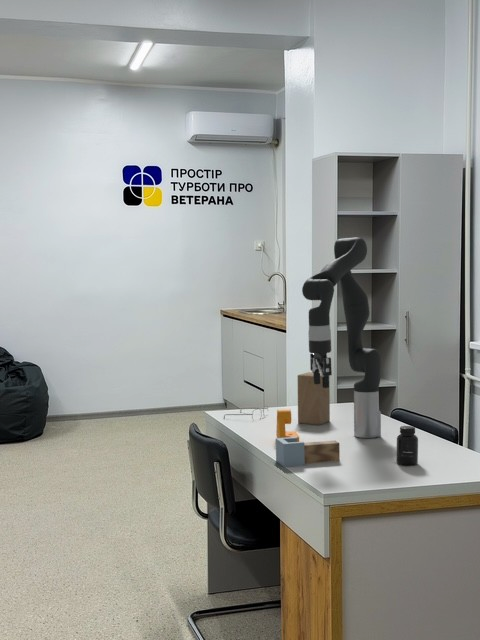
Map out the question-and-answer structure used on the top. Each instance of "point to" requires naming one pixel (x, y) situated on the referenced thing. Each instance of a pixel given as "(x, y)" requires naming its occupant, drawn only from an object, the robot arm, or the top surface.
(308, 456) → the rail
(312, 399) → the wooden block
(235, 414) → the eyeglasses
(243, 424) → the top surface
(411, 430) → the supplement bottle
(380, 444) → the top surface
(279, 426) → the bracket
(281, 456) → the grey u-channel
